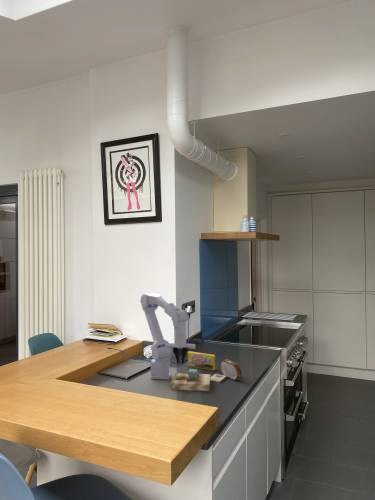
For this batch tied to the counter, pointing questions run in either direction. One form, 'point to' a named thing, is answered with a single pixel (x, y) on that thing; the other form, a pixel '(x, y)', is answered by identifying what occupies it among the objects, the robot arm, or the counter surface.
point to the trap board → (191, 382)
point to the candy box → (201, 360)
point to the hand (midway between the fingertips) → (180, 363)
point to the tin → (231, 369)
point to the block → (192, 373)
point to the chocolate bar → (218, 376)
